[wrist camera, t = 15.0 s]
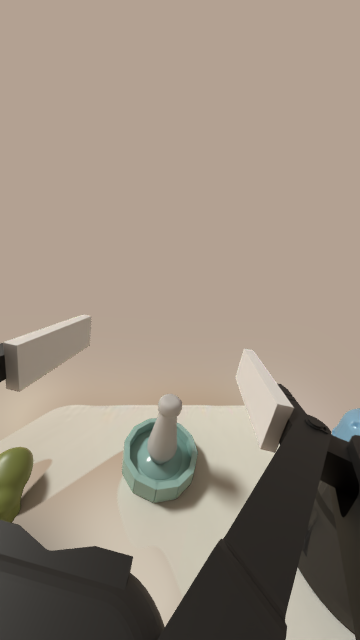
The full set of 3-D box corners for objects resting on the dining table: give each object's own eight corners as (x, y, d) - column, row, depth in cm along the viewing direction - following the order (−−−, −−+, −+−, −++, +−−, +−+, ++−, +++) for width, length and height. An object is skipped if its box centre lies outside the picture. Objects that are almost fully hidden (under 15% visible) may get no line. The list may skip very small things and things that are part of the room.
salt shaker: (176, 444, 39) (188, 392, 35) (172, 473, 33) (186, 414, 30) (149, 438, 39) (158, 386, 36) (141, 465, 34) (151, 407, 30)
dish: (207, 466, 37) (211, 454, 36) (150, 525, 27) (153, 511, 26) (164, 419, 46) (166, 409, 45) (109, 450, 36) (110, 438, 35)
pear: (36, 436, 31) (17, 515, 23) (38, 455, 33) (21, 533, 25) (-9, 445, 28) (-48, 537, 20) (-4, 465, 30) (-38, 555, 22)
